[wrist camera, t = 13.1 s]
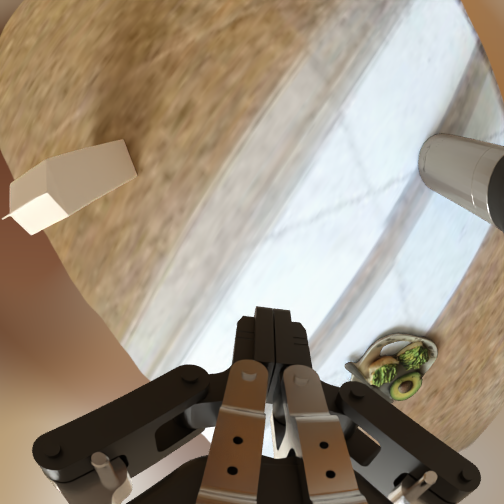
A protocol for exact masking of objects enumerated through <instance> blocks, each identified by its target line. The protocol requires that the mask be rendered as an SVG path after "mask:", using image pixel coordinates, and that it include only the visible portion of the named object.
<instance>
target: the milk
mask: <svg viewBox="0 0 504 504" xmlns="http://www.w3.org/2000/svg"><path fill="white" fill-rule="evenodd" d="M135 177H137V173H136V171H135V168H134V165H133V163H132V160H131V158H130V155H129V152H128V150H127V147H126V144H125V142H124V139H121V140H117V141H112V142H108V143H104V144H100V145H95V146H91V147H87V148H84V149H80V150H76V151H72V152H69V153H65V154H61V155H58V156H54V157H51V158H48V159H45V160H44V161H42V162H41V163H39V164H38V165H36V166H35V167H33V168H32V169H30V170H29V171H27V172H26V173H24V174H23V175H22V176H20V177H19V178H17V179H16V180H15V181H13V182H12V183H11V184H10V214H8V215H6V216H5V217H4V218H2V219H5V218H6V217H8V216H11V217H12V218H13V219H14V220H16V221H17V222H18V223H19V224H20V225H21V226H22V227H23V228H24V229H25V230H26V231H27V232H28V233H29V234H31V235H33V234H35V233H37V232H38V231H40V230H42V229H44V228H46V227H48V226H50V225H52V224H54V223H56V222H58V221H60V220H62V219H64V218H66V217H68V216H70V215H71V214H73V213H75V212H76V211H78V210H79V209H81V208H83V207H84V206H86V205H88V204H89V203H91V202H93V201H94V200H96V199H98V198H100V197H101V196H103V195H105V194H107V193H108V192H110V191H112V190H114V189H115V188H117V187H119V186H121V185H122V184H124V183H126V182H128V181H130V180H132V179H133V178H135Z"/></svg>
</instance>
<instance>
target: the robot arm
mask: <svg viewBox="0 0 504 504" xmlns="http://www.w3.org/2000/svg"><path fill="white" fill-rule="evenodd" d="M418 167H419V172H420V176H421V178H422V180H423V182H424V183H425V185H426V186H427V187H428V188H430V189H431V190H433V191H435V192H437V193H438V194H440V195H442V196H444V197H445V198H447V199H449V200H451V201H453V202H454V203H456V204H458V205H460V206H461V207H463V208H465V209H467V210H468V211H470V212H472V213H473V214H475V215H477V216H478V217H480V218H482V219H483V220H485V221H487V222H488V223H490V224H492V225H493V226H495V227H496V228H498V229H500V230H501V231H503V233H504V146H501V145H497V144H493V143H488V142H484V141H480V140H475V139H470V138H465V137H461V136H456V135H450V134H444V133H441V134H436V135H434V136H432V137H430V138H429V139H428V140H427V141H426V142H425V143H424V145H423V146H422V148H421V151H420V154H419V160H418ZM265 401H266V403H270V404H273V410H272V413H271V417H270V422H271V432H272V441H273V451H274V458H271V457H267V456H264V455H262V447H263V438H264V428H265V419H266V414H264V410H265ZM358 426H360V427H361V428H362V429H363V430H364V431H366V432H367V433H368V434H369V435H371V436H372V437H373V438H374V439H375V440H377V441H378V442H379V444H380V446H381V447H380V446H379V445H378V444H376V443H375V442H374V441H373V440H372V439H370V438H369V437H368V436H367V435H365V434H364V433H363V432H362V431H361V430H359V429H358ZM207 427H215V430H214V434H213V438H212V442H211V447H210V451H209V455H206V456H201V457H198V458H195V459H192V460H190V461H188V462H186V463H184V464H183V465H181V466H180V467H179V468H177V469H176V470H174V471H173V472H172V473H170V474H169V475H168V476H166V477H165V478H163V479H162V480H161V481H159V482H158V483H156V484H155V485H153V486H152V487H150V488H149V489H147V490H146V491H145V492H143V493H142V494H140V495H139V496H137V497H136V498H134V499H133V500H131V501H129V502H128V503H126V504H457V503H459V502H460V501H461V500H463V499H464V498H465V497H466V496H468V495H469V494H470V493H471V492H473V491H474V490H475V489H476V488H477V487H478V486H479V484H480V481H481V475H480V472H479V470H478V468H477V467H476V466H475V465H474V464H473V463H471V462H470V461H469V460H467V459H466V458H464V457H463V456H461V455H460V454H459V453H457V452H456V451H454V450H453V449H452V448H450V447H449V446H447V445H446V444H445V443H443V442H442V441H441V440H439V439H438V438H436V437H435V436H434V435H432V434H431V433H430V432H428V431H427V430H426V429H424V428H423V427H421V426H420V425H419V424H417V423H416V422H415V421H413V420H412V419H411V418H409V417H408V416H407V415H405V414H404V413H403V412H401V411H400V410H399V409H397V408H396V407H395V406H393V405H392V404H391V403H389V402H388V401H387V400H385V399H384V398H383V397H381V396H380V395H379V394H378V393H376V392H375V391H374V390H372V389H371V388H370V387H368V386H367V385H365V384H364V383H361V382H358V381H349V382H346V383H344V384H343V385H342V386H341V387H336V386H333V385H330V384H327V383H325V382H323V381H321V380H320V378H319V375H318V374H317V373H316V371H314V370H313V369H312V363H311V357H310V351H309V346H308V340H307V333H306V330H305V328H304V327H303V326H302V324H301V323H299V322H291V314H290V310H283V309H272V308H266V307H258V306H256V309H255V315H254V317H248V316H243V317H242V318H241V319H240V320H239V321H238V322H237V329H236V337H235V344H234V351H233V360H232V365H231V366H230V368H228V369H227V370H226V371H224V372H221V373H216V374H208V373H207V372H206V371H205V370H204V369H203V368H201V367H199V366H196V365H182V366H179V367H177V368H175V369H173V370H171V371H169V372H167V373H166V374H164V375H162V376H160V377H158V378H156V379H154V380H153V381H151V382H149V383H147V384H145V385H143V386H141V387H139V388H138V389H136V390H134V391H132V392H130V393H128V394H126V395H124V396H122V397H120V398H118V399H116V400H114V401H113V402H110V403H108V404H106V405H104V406H102V407H100V408H98V409H96V410H94V411H92V412H90V413H88V414H86V415H84V416H82V417H79V418H77V419H75V420H73V421H71V422H69V423H67V424H65V425H63V426H60V427H58V428H56V429H54V430H52V431H49V432H47V433H45V434H43V435H41V436H40V437H38V438H37V439H36V441H35V442H34V444H33V448H32V453H33V457H34V459H35V461H36V462H37V463H38V465H39V466H40V467H41V469H42V471H43V472H44V474H45V475H46V476H47V478H48V479H49V480H50V482H51V483H52V484H53V485H54V486H55V488H56V489H57V490H59V491H60V492H61V493H62V494H63V496H64V497H65V498H66V500H67V501H68V503H69V504H121V502H122V501H123V500H124V499H125V498H127V497H128V496H129V495H130V493H131V491H132V481H131V478H132V477H134V476H136V475H137V474H139V473H140V472H142V471H144V470H145V469H147V468H149V467H150V466H152V465H154V464H155V463H157V462H158V461H160V460H161V459H163V458H164V457H166V456H167V455H169V454H170V453H172V452H173V451H175V450H177V449H178V448H180V447H181V446H183V445H184V444H186V443H187V442H189V441H190V440H191V439H193V438H194V437H196V436H197V435H199V434H200V433H202V432H203V431H204V430H205V428H207ZM384 495H385V496H384Z"/></svg>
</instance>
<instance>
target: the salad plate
mask: <svg viewBox="0 0 504 504" xmlns="http://www.w3.org/2000/svg"><path fill="white" fill-rule="evenodd" d="M397 341H409V342H412V343H411V344H410V345H407V346H406V347H405V348H403V349H402V350H401V351H400V352H398V353H397V354H395V355H391V356H386V355H383V356H380V352H381V350H382V348H383V347H384V346H386V345H388V344H390V343H394V342H397ZM437 355H438V350H437V347H436V345H435V343H434V342H433V341H431V340H430V339H428V338H426V337H418V336H414V335H409V334H400V333H396V334H391V335H388V336H385V337H383V338H381V339H379V340H377V341H376V342H375V343H374V344H373V345H371V346H370V347H369V349H368V350H367V351H366V353H365V354H364V356H363V357H362V358H361V359H360V361H358V362H357V363H353V362H348V363H346V364H345V368H346V369H347V370H348V371H349V372H350V373H352V376H351V381H358V382H361V383H364V384H365V385H367V386H368V387H370V388H371V389H372V390H374V391H375V392H376V393H378V394H379V395H380V396H381V397H383V398H384V399H385V400H387V401H388V402H389V403H393V402H394V401H393V400H397V401H402V400H406V399H408V398H410V397H411V396H413V395H414V394H415V393H416V392H417V391H418V390H419V388H420V387H421V385H422V380H423V379H422V377H423V376H424V374H425V373H426V372H427V371H428V369H429V368H430V367H431V366H432V364H433V363H434V362H435V360H436V358H437Z"/></svg>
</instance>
